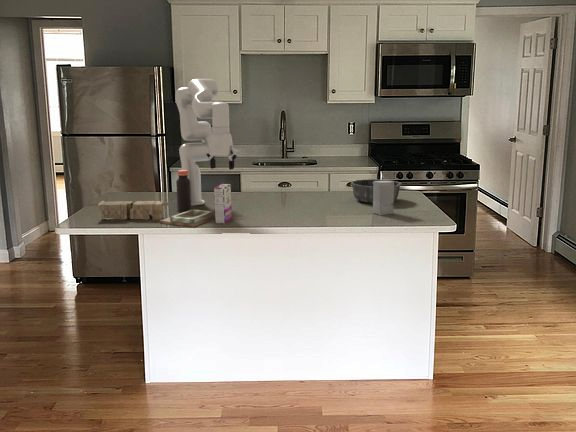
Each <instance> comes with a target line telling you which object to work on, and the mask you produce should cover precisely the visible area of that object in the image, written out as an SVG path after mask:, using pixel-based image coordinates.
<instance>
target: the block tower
mask: <svg viewBox="0 0 576 432" xmlns="http://www.w3.org/2000/svg"><path fill="white" fill-rule="evenodd" d="M97 211H101V213H100V215H101V219H102V218H113V219H114V218H115V219H127V218H130V219H143V221H144V220H145V221H148V219H149V220H150V219H151V218H152V220H163V218H164V202H163V201H161V200H145V201H144V200H143V201H142V200H141V201H140V200H138V201H135V202H134V201H131V200H130V201H126V200H125V201H122V200H120V201H105V200H101V201H100V202H99V203H98V204H97ZM130 219H129V220H130ZM127 220H128V219H127Z"/></svg>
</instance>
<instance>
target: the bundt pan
mask: <svg viewBox="0 0 576 432" xmlns="http://www.w3.org/2000/svg"><path fill="white" fill-rule="evenodd" d="M374 181H392V182H394V201H396V200H397V199H398V197H399V193H400V189H401V188H400V187H401V185H402V183H401V182H399V181H397V180H389V179H383V178H382V179H381V178H380V179H376V178H373V179H372V178H369V179H356V180H351V183H350V184H351V186H352V187H351V189H352V194H353V197H354V198H355V200H357V201H359V202H360V203H370V204H373V182H374Z"/></svg>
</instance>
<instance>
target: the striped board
mask: <svg viewBox="0 0 576 432" xmlns="http://www.w3.org/2000/svg"><path fill="white" fill-rule="evenodd" d="M213 220H215V210H214V211H213V210H204V209H203V210H202V209H201V210H200V209H192V208H191V210H189V211H186V212H181V213H177V214H174V215H171V216H169V217H167V218H164V219H163V218H162V219H159V224H164V225H172V226H173V225H174V226H181V227H182V226H183V227H189V228H191V227H192V228H194V227H196V226H199V225H202V224H205V223H207V222H210V221H213Z"/></svg>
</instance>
